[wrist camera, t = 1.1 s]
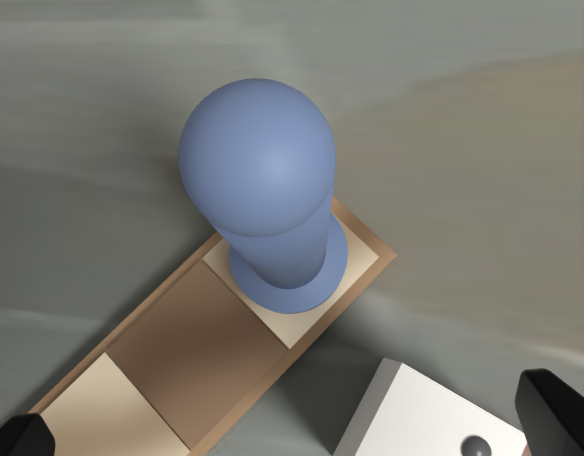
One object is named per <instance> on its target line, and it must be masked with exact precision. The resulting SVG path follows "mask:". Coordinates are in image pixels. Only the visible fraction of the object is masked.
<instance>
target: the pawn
mask: <svg viewBox="0 0 584 456" xmlns="http://www.w3.org/2000/svg"><path fill="white" fill-rule="evenodd" d="M178 164H179V170H180V176H181V179H182V183H183V186H184V188H185V190H186V192H187V195H188V196H189V198H190V199H191V201H192V203H193V204H194V206H195V207H196V208H197V209H198V210H199V212H200V213H201V214H202V215H203V216H204V217H205V218H206V219H207V220H208V221H209V222H210V224H211V225H212V226H213V227H214V228H215V229H216V230H217V231H218V232H219V233H220V234H221V235H222V237H223V238H224V239H225V240H226V241H227V242H228V243H229V244H230V245H229V263H230V268H231V271H232V275H233V277H234V279H235V281H236V283H237V285H238V286H239V288H240V289H241V290H242V291H243V293H244V294H245V295H246V296H247V297H248V298H250V299H251V300H252V301H253V302H255V303H256V304H258V305H260V306H262V307H264V308H266V309H268V310H270V311H273V312H277V313H282V314H298V313H303V312H306V311H309V310H312V309H314V308H316V307H318V306H319V305H321V304H322V303H324V302H325V301H326V300H327V299H328V298H330V297H331V295H332V294H333V293H334V292H335V290H336V289H337V287H338V286H339V284H340V282H341V280H342V277H343V275H344V273H345V269H346V266H347V260H348V246H347V240H346V236H345V234H344V231H343V228H342V227H341V225H340V223H339V221H338V220H337V219H336V217H335V216H334V215H333V214H332V213H331V212H330V211H331V203H332V195H333V186H334V174H335V169H336V151H335V143H334V139H333V135H332V133H331V130H330V127H329V125H328V123H327V121H326V119H325V117H324V116H323V114H322V113H321V111H320V110H319V109H318V107H317V106H316V105H315V104H314V103H313V102H312V101H311V100H310V99H309V98H308V97H306V96H305V95H304V94H303V93H301V92H300V91H298V90H296V89H295V88H293V87H291V86H288V85H286V84H283V83H281V82H277V81H274V80H268V79H256V78H254V79H244V80H239V81H235V82H232V83H229V84H226V85H224V86H222V87H220V88H218V89H217V90H215V91H213V92H212V93H210V94H209V95H208V96H207V97H205V98H204V99H203V100H202V101H201V102H200V103H199V104H198V105H197V107H196V108H195V109H194V111H193V112H192V113H191V115H190V117H189V119H188V120H187V122H186V124H185V127H184V129H183V131H182V135H181V139H180V144H179V152H178Z"/></svg>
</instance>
